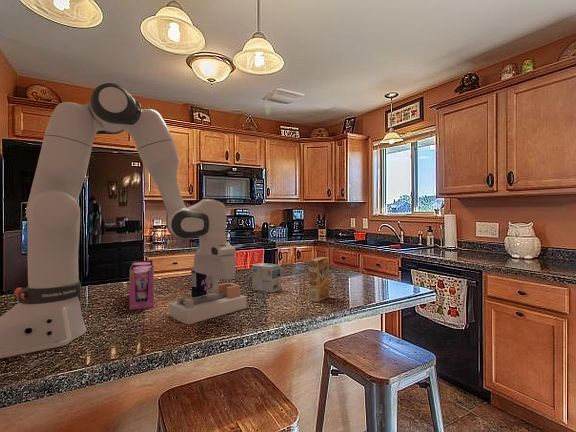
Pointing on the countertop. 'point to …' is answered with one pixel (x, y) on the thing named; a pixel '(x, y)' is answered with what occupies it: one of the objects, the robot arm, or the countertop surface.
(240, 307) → the hinged pedal on base
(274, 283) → the light bulb box
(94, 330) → the countertop surface
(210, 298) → the dark grey flat bar
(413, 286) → the countertop surface
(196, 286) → the beverage can
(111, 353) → the countertop surface
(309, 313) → the countertop surface
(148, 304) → the gum box
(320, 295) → the candy box
